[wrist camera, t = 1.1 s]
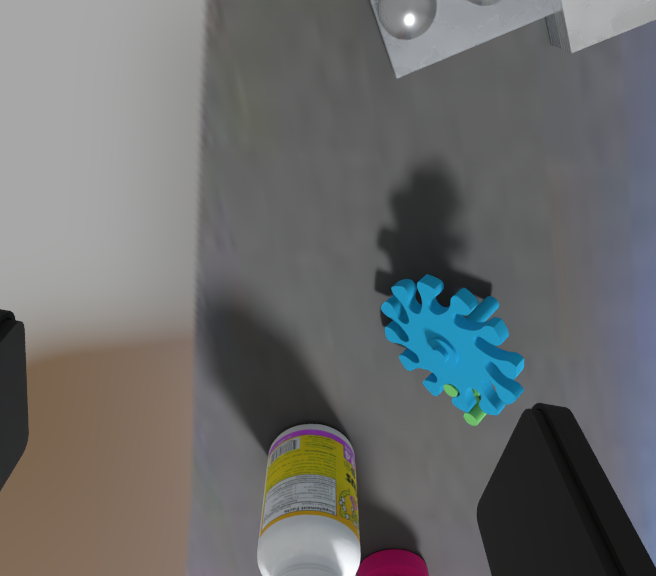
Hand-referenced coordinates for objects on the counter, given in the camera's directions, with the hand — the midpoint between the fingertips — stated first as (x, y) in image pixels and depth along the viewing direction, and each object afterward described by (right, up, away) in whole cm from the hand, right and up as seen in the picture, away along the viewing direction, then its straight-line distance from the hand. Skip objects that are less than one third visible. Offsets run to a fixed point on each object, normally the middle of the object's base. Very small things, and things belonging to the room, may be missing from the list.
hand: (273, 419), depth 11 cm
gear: (+7, 0, +30) cm, 31 cm away
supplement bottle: (0, -10, +35) cm, 36 cm away
